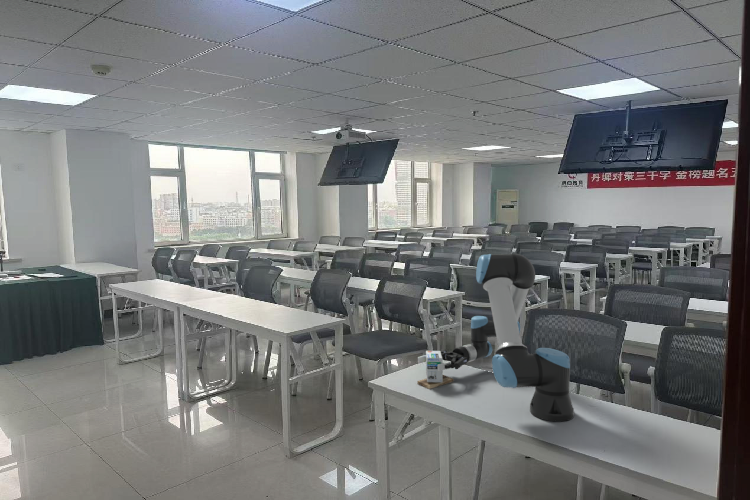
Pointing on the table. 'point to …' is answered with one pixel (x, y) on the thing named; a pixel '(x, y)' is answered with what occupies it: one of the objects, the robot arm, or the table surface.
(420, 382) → the subfloor panel
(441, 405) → the table surface
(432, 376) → the light bulb box
